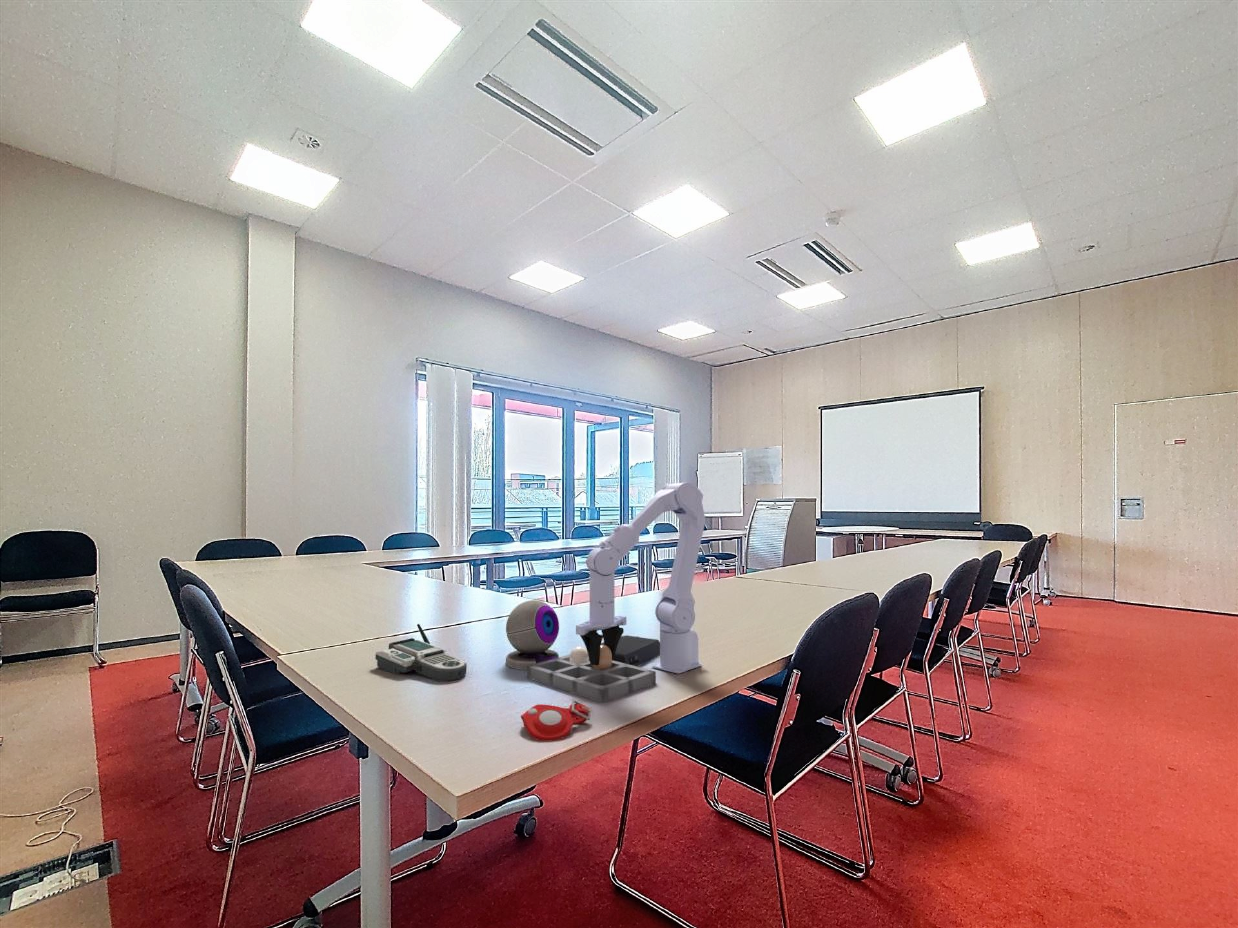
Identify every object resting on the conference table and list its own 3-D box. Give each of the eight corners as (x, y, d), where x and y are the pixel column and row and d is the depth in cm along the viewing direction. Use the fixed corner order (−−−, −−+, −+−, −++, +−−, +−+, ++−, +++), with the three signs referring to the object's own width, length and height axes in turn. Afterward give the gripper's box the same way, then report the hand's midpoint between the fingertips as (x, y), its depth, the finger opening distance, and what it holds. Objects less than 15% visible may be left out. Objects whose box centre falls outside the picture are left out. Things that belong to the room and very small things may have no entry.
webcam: (536, 672, 134) (536, 607, 135) (494, 664, 140) (495, 602, 141) (568, 659, 145) (568, 598, 146) (528, 652, 151) (528, 594, 152)
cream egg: (579, 666, 139) (579, 643, 139) (592, 669, 136) (592, 646, 136) (565, 670, 136) (566, 646, 136) (578, 674, 133) (578, 650, 133)
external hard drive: (583, 664, 142) (583, 647, 142) (623, 647, 158) (623, 632, 159) (629, 672, 135) (629, 655, 135) (666, 654, 152) (666, 638, 152)
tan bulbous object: (602, 665, 134) (602, 641, 134) (615, 669, 131) (615, 645, 131) (588, 669, 131) (588, 645, 131) (602, 673, 128) (602, 648, 128)
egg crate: (526, 677, 130) (526, 665, 130) (579, 662, 142) (580, 651, 142) (602, 702, 114) (602, 689, 114) (655, 683, 126) (655, 671, 126)
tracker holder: (555, 740, 94) (509, 714, 99) (553, 763, 95) (508, 736, 100) (597, 702, 104) (554, 680, 109) (596, 723, 105) (553, 700, 110)
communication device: (434, 689, 123) (434, 648, 124) (372, 669, 137) (373, 631, 138) (478, 675, 133) (479, 637, 133) (416, 657, 147) (417, 622, 147)
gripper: (591, 607, 124) (591, 672, 123) (636, 599, 134) (636, 658, 134) (569, 603, 129) (569, 666, 128) (614, 595, 139) (614, 653, 138)
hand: (602, 661), depth 131 cm, fingers closed on tan bulbous object, 4 cm apart
